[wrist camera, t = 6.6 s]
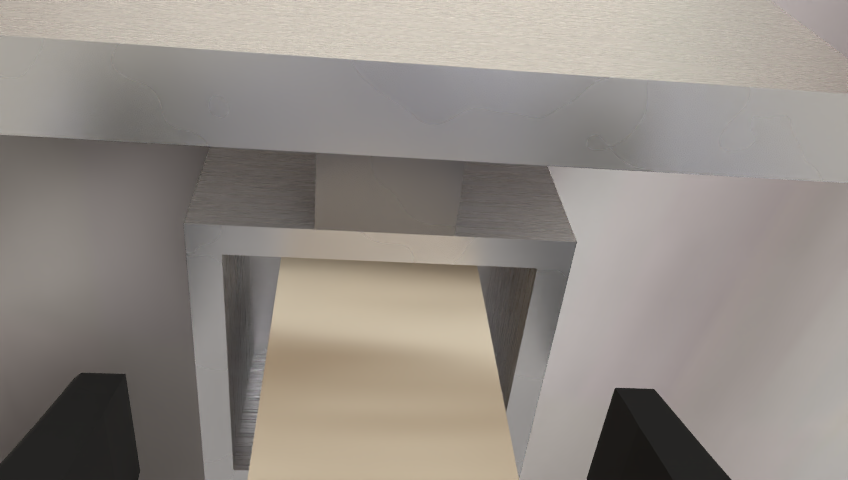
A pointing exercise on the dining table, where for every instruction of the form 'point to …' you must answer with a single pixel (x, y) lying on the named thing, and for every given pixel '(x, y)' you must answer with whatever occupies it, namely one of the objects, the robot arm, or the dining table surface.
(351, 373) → the rail end
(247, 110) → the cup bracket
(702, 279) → the dining table surface
